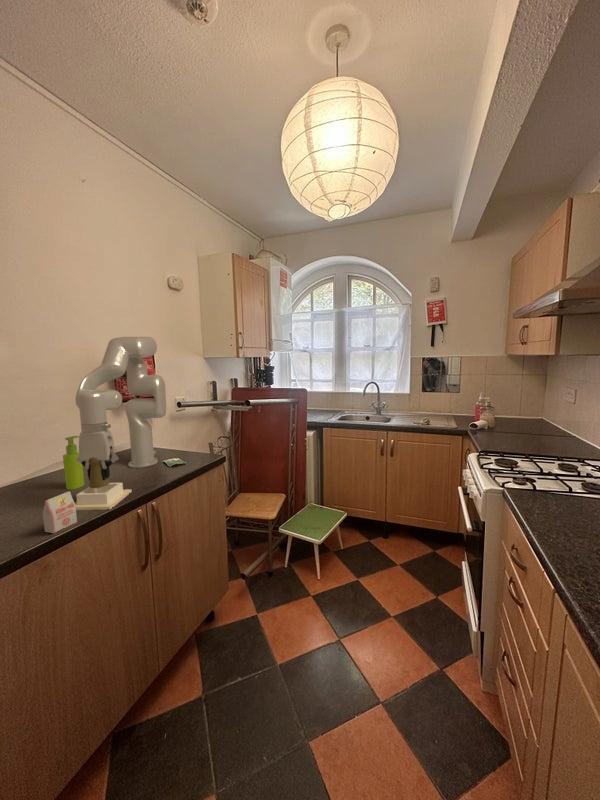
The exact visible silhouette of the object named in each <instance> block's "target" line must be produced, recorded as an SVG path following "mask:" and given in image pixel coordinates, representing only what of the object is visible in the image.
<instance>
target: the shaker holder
mask: <svg viewBox="0 0 600 800" xmlns="http://www.w3.org/2000/svg"><path fill="white" fill-rule="evenodd" d="M129 493H130V494H131V493H132V489H129V488H128V489H126V488H125V489H124V485H123V482H109V484H108V485H107V486H104V487H100V488H90V487H89V486H88V487H86V488H85V489H83V490H81V491H80V492H78V493H76V495H75V496H76V501H74V503H75V507H76V511H96V510H98V511H99V510H101V511H102V510H104V511H106V510H107V509H109V510H111V509H113V508H114V507H115V506H117V504H119V503H120V502H121V501H123V500H124V499H125V498H126V497H127V496H129V495H130V494H129ZM112 507H113V508H112Z"/></svg>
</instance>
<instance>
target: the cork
mask: <svg viewBox="0 0 600 800" xmlns="http://www.w3.org/2000/svg"><path fill="white" fill-rule="evenodd" d="M88 462H89V464H90V465H91V468H90V481H89V485H88V487H90V488H100V487H104V486H107V485H108V484H109V483H110V479H109V478H106V480H103V479H102V472H101V470H102V469H103V467H102V463H101V461H100V460H98V459H97V458H90V459H89V461H88Z"/></svg>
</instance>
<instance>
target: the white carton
mask: <svg viewBox="0 0 600 800" xmlns="http://www.w3.org/2000/svg"><path fill="white" fill-rule="evenodd" d="M77 518H78V516H77V510H76V507H75V501H74V499H73V496H72V494H71V491H66V492H64V493H61V494H59V495H56V496H54V497H51V498H48V499H46V500H44V506H43V510H42V519H43V527H44V533H45V532H50V533H55V532H57V531H59V530H61V529H63V528H66V527H68V526H70V525H72V524H74V525H76V524H78V519H77ZM75 523H76V524H75ZM72 526H73V525H72Z"/></svg>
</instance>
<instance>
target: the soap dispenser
mask: <svg viewBox="0 0 600 800" xmlns="http://www.w3.org/2000/svg"><path fill="white" fill-rule="evenodd" d="M79 436H80V435H73V436H67V437H66V438H65V437H64V439H65V441H67V445H66V446H65V451H66V454H64V455H62V460H63V469H64V479H65V488H66V490H77V489H80V488H82V487H84V486H85V476H84V466H83V465H82V464H81V463H79V462H77V461H76V459H77V457H78V456H79V451H78V449H77V448H78V445H77V444H75V443H74V439H79Z"/></svg>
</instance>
